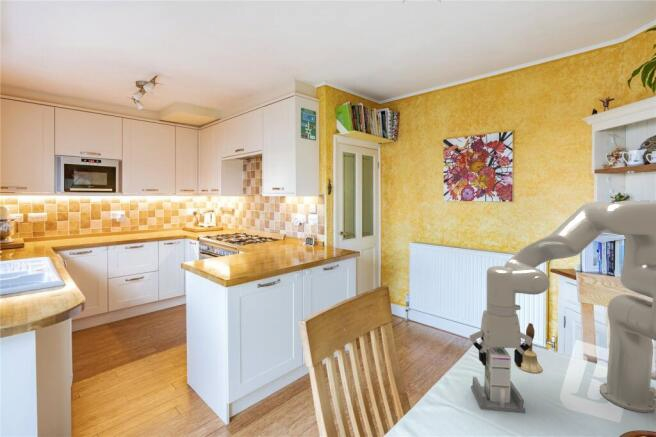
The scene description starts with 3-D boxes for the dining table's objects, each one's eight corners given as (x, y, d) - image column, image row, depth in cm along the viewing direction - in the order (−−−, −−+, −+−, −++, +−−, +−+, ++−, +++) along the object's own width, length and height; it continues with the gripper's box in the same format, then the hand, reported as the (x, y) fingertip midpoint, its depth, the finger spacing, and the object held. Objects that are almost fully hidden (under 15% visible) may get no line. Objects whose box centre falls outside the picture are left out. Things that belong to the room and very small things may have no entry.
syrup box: (510, 403, 94) (512, 356, 93) (489, 401, 95) (490, 354, 94) (503, 391, 100) (505, 346, 99) (483, 390, 101) (484, 345, 100)
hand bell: (510, 360, 120) (512, 319, 119) (533, 361, 120) (535, 319, 118) (523, 373, 112) (525, 328, 110) (547, 373, 111) (550, 329, 110)
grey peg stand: (510, 391, 102) (511, 373, 101) (525, 413, 92) (526, 393, 91) (470, 388, 104) (471, 370, 103) (480, 409, 94) (481, 389, 93)
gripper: (526, 304, 98) (525, 358, 99) (466, 303, 100) (466, 356, 102) (538, 314, 90) (537, 372, 92) (473, 313, 93) (473, 369, 94)
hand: (500, 364), depth 97 cm, fingers open, 9 cm apart
